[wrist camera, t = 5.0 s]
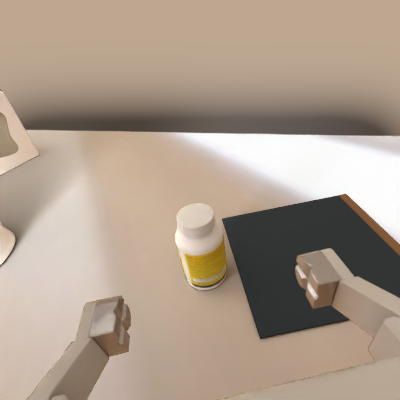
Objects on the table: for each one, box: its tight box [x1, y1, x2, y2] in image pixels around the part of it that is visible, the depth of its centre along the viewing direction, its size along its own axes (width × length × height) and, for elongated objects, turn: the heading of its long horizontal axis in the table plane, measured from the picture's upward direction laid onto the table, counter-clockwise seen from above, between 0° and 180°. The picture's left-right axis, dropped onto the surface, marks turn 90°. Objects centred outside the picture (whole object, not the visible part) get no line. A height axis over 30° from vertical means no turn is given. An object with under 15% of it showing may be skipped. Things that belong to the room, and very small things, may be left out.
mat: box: [222, 194, 400, 339], centre depth 32 cm, size 20×18×1 cm
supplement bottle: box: [175, 203, 227, 290], centre depth 29 cm, size 5×5×10 cm
